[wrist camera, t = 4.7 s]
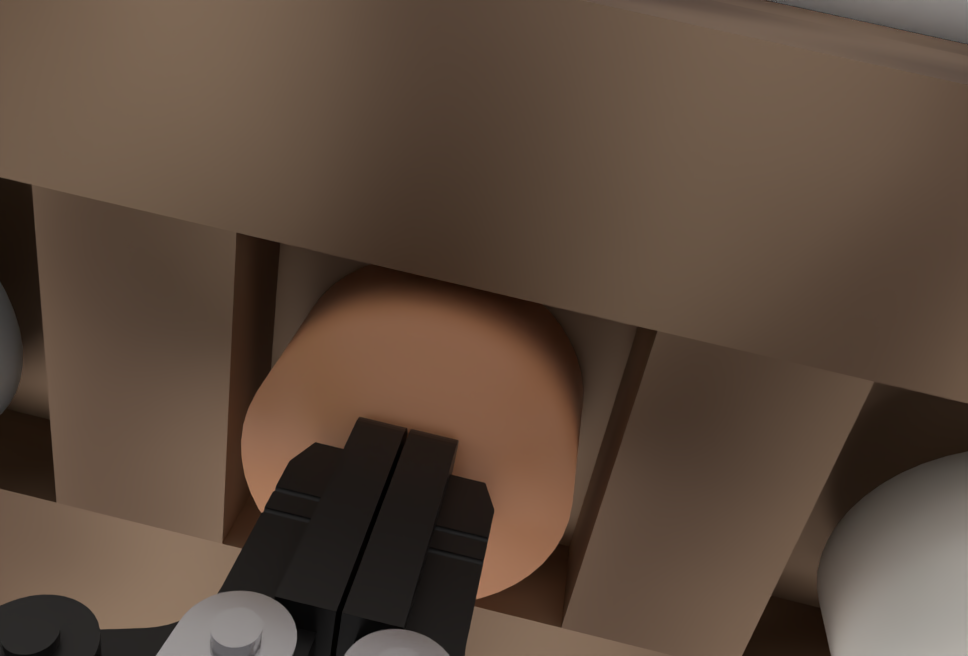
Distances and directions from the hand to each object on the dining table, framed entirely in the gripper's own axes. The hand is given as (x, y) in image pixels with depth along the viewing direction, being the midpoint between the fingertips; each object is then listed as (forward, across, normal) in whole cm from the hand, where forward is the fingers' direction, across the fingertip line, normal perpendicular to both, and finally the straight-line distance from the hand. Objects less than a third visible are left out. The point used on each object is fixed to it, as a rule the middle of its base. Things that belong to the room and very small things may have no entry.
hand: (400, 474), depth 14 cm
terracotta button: (+2, 0, 0) cm, 2 cm away
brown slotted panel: (+4, 0, 0) cm, 4 cm away
